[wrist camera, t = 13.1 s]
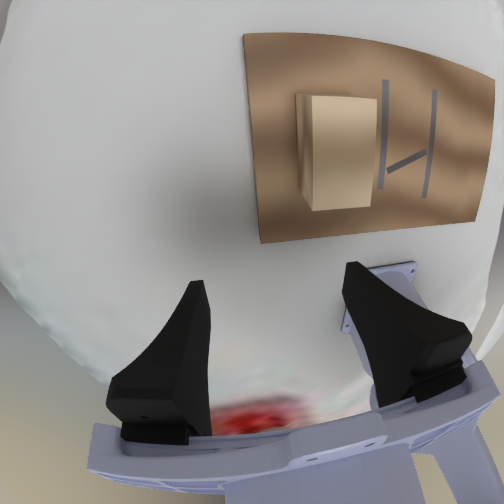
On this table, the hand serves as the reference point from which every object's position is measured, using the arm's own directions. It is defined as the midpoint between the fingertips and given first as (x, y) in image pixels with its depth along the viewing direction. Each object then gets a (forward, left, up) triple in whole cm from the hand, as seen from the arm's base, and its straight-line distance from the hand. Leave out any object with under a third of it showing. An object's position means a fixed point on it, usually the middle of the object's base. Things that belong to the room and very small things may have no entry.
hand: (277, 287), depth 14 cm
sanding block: (+5, -5, -9) cm, 11 cm away
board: (+5, -12, -10) cm, 16 cm away
